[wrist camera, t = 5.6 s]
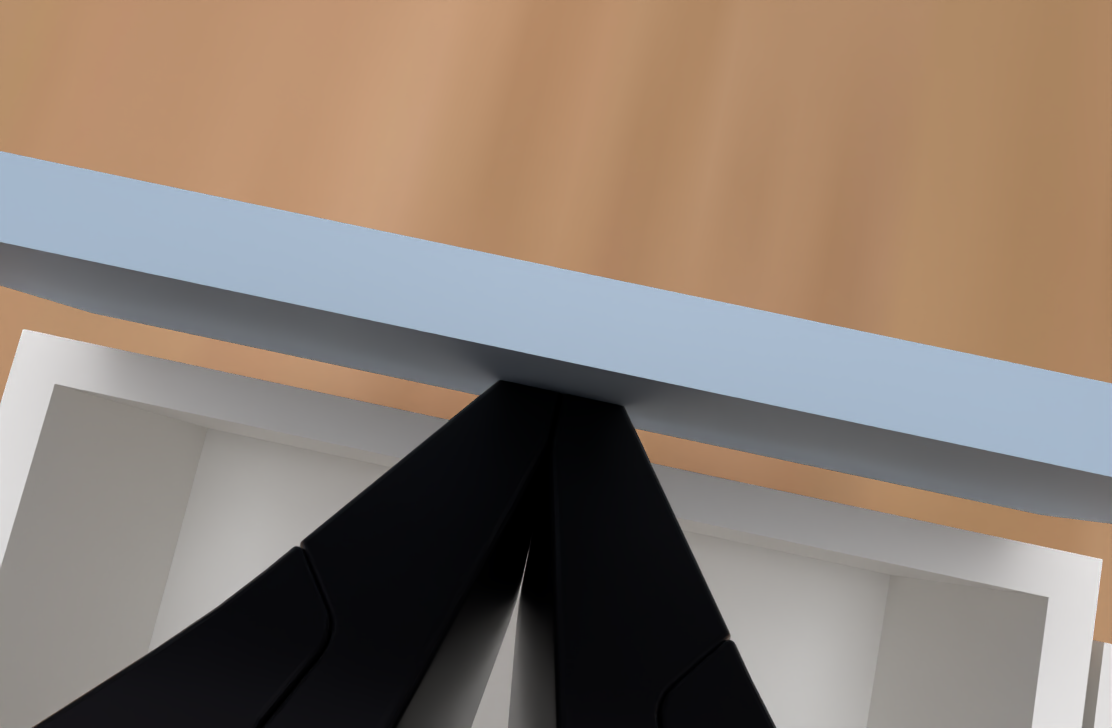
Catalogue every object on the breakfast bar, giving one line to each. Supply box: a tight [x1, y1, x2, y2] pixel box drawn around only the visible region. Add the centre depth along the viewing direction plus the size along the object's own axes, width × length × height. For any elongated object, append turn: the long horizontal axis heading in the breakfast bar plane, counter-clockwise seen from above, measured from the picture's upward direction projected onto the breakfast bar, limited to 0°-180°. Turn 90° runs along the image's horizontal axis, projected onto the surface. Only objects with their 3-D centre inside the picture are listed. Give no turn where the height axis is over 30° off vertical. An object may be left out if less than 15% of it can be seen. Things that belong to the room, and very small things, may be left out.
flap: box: [0, 151, 1112, 524], centre depth 9 cm, size 1×12×7 cm, turn 80°
